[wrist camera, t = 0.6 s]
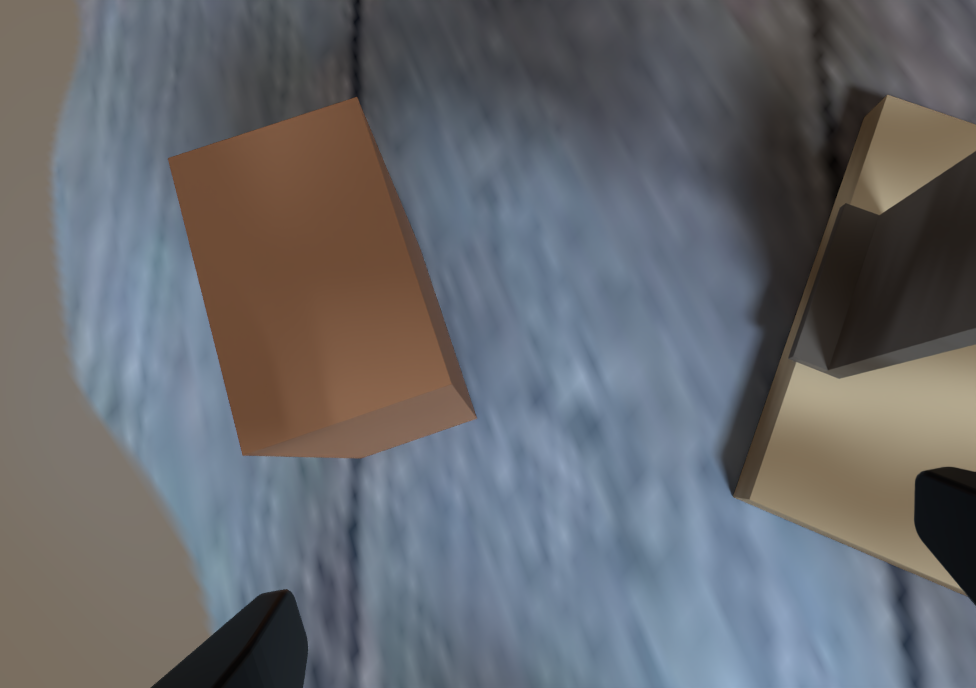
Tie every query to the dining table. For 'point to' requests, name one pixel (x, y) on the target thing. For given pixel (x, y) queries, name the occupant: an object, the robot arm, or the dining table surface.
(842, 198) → the wooden board with blocks
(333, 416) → the brown rectangular block
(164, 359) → the dining table surface
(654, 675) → the dining table surface
